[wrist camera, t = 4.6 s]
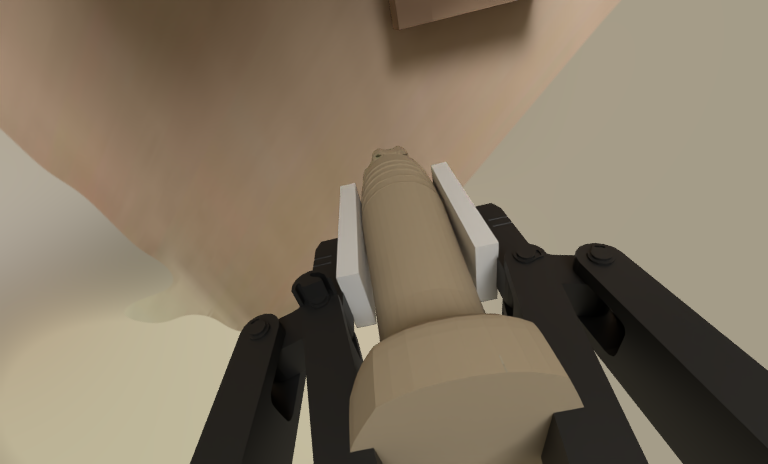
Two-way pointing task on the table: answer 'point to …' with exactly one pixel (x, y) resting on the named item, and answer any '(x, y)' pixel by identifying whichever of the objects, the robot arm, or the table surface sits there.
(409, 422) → the handle
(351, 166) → the table surface
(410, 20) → the slot block
